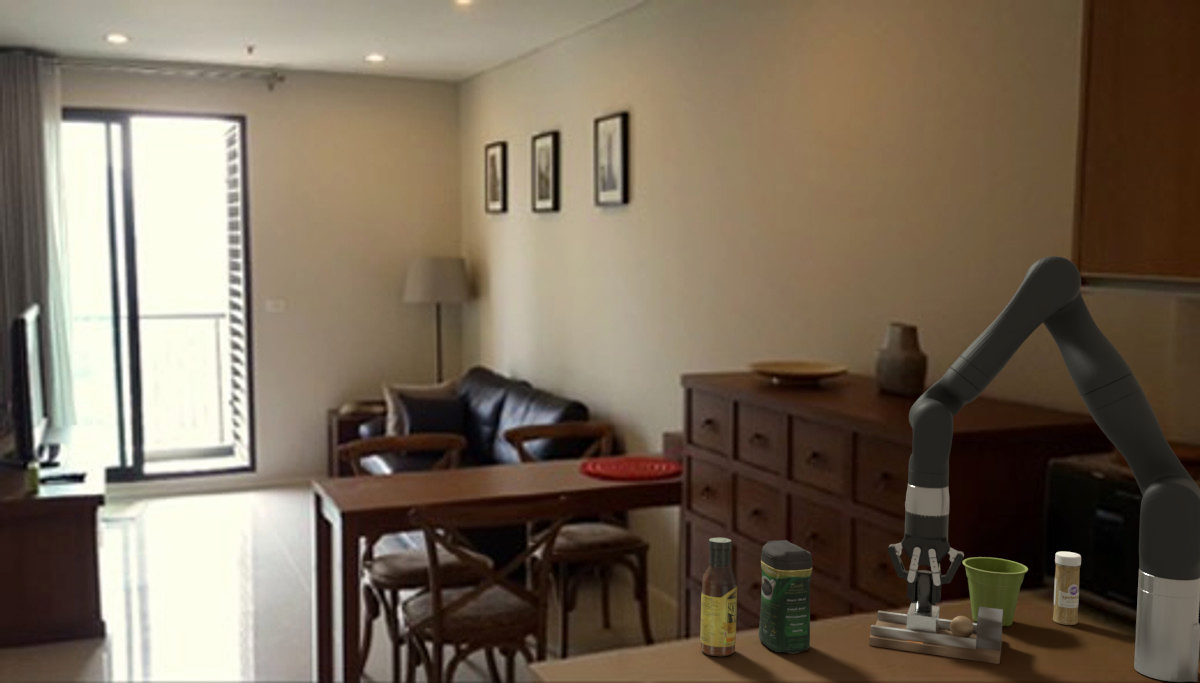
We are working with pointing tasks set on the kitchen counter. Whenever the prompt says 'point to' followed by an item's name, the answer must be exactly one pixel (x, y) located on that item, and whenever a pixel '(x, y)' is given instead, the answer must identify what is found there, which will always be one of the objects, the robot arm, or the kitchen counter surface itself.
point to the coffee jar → (785, 597)
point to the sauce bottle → (719, 601)
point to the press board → (942, 637)
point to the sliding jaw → (923, 606)
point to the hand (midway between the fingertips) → (923, 602)
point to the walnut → (961, 627)
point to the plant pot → (994, 585)
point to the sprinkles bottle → (1066, 587)
